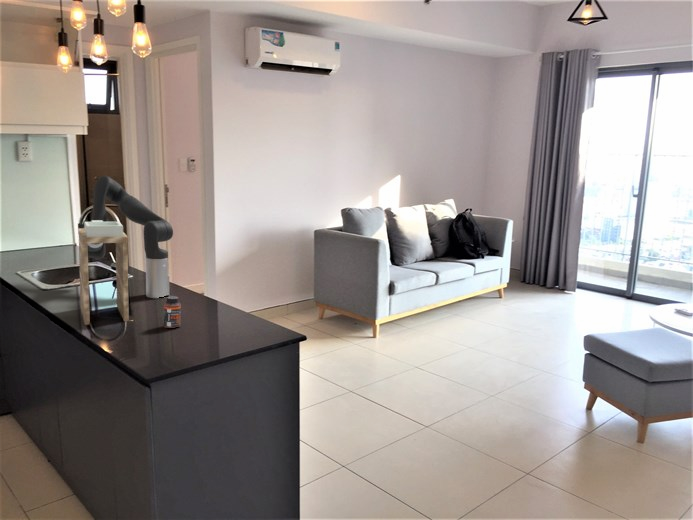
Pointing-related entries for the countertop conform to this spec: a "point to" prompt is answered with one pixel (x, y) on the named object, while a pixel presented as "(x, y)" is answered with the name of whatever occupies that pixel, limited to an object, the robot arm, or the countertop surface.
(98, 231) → the tray
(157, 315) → the countertop surface
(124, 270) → the oak shelf
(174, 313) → the supplement bottle
